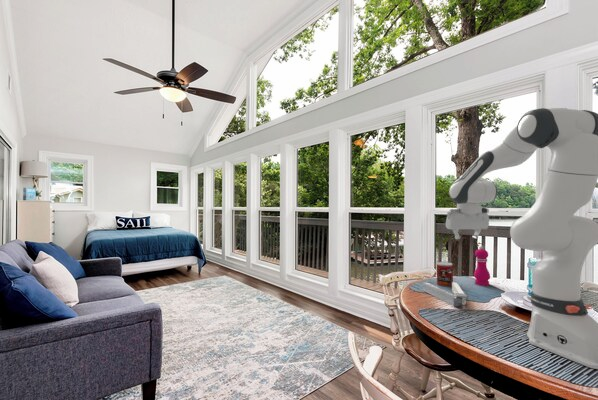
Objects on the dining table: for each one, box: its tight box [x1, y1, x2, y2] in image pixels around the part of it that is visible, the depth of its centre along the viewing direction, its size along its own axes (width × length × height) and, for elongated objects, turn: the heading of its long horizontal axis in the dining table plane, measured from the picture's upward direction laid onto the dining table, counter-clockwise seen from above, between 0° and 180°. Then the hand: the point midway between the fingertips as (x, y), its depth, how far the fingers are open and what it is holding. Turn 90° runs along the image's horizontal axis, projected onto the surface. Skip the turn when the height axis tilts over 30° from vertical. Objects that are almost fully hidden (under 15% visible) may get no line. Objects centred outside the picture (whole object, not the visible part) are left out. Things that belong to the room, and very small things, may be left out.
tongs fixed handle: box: [422, 282, 463, 309], centre depth 128 cm, size 24×3×4 cm, turn 10°
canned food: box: [436, 261, 454, 287], centre depth 151 cm, size 8×8×11 cm
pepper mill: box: [473, 245, 491, 287], centre depth 150 cm, size 7×7×20 cm
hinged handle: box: [451, 281, 468, 306], centre depth 127 cm, size 24×4×5 cm, turn 160°
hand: (466, 238), depth 132 cm, fingers open, 8 cm apart
